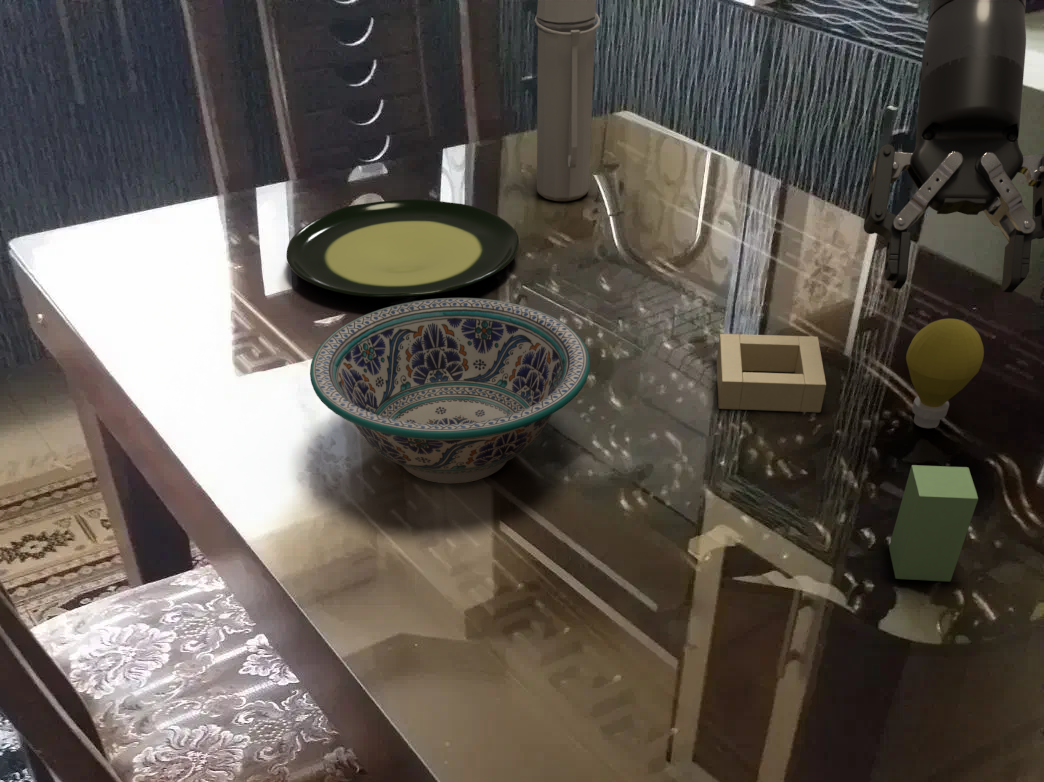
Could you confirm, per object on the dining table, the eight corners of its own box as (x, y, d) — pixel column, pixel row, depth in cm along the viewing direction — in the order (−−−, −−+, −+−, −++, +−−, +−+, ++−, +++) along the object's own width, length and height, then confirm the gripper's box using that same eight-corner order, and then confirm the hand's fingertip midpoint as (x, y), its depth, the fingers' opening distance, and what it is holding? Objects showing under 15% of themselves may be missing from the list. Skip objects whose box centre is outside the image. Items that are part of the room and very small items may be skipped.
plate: (243, 263, 140) (239, 242, 139) (419, 199, 153) (417, 180, 151) (384, 339, 126) (382, 317, 124) (566, 262, 138) (567, 241, 136)
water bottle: (528, 186, 155) (528, -33, 137) (584, 180, 156) (592, -38, 138) (543, 212, 149) (545, -14, 131) (601, 206, 150) (612, -19, 132)
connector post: (942, 549, 97) (968, 467, 91) (950, 581, 94) (978, 498, 88) (888, 547, 97) (911, 464, 91) (895, 579, 94) (919, 495, 88)
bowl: (272, 448, 111) (255, 355, 104) (471, 363, 121) (468, 273, 114) (432, 566, 97) (425, 467, 90) (641, 457, 108) (649, 362, 101)
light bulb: (888, 435, 109) (913, 335, 102) (892, 400, 114) (917, 302, 107) (961, 444, 108) (993, 343, 101) (963, 409, 112) (993, 310, 105)
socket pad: (812, 363, 119) (818, 336, 117) (820, 412, 112) (826, 384, 110) (716, 360, 120) (719, 333, 118) (718, 409, 114) (722, 381, 111)
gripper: (890, 49, 87) (873, 265, 87) (1086, 51, 85) (1068, 271, 86) (866, 103, 94) (851, 302, 95) (1046, 106, 93) (1030, 307, 93)
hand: (954, 287), depth 90 cm, fingers open, 8 cm apart
